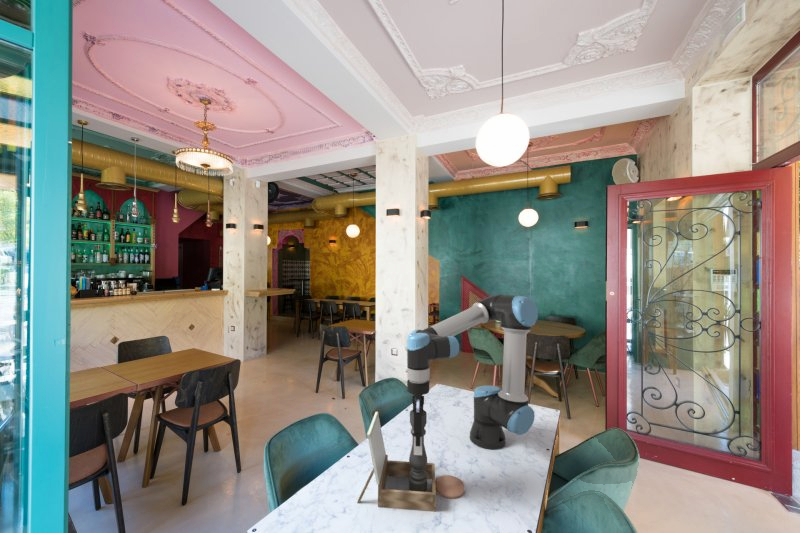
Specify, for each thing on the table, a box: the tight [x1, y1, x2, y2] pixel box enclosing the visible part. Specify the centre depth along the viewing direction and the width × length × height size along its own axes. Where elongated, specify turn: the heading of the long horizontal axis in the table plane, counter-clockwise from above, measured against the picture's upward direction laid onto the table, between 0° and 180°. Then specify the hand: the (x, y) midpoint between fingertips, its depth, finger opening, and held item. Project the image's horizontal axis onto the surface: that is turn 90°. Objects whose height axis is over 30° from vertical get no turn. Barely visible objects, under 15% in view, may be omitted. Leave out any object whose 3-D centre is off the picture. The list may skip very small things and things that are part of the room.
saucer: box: [435, 474, 465, 500], centre depth 105 cm, size 10×10×1 cm
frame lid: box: [366, 411, 387, 485], centre depth 105 cm, size 4×16×15 cm, turn 175°
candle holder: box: [408, 409, 428, 492], centre depth 103 cm, size 6×6×25 cm
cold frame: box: [356, 454, 437, 512], centre depth 104 cm, size 25×16×12 cm, turn 85°
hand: (418, 449), depth 103 cm, fingers closed on candle holder, 5 cm apart
